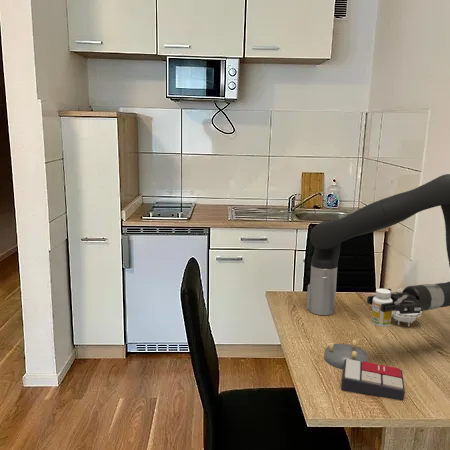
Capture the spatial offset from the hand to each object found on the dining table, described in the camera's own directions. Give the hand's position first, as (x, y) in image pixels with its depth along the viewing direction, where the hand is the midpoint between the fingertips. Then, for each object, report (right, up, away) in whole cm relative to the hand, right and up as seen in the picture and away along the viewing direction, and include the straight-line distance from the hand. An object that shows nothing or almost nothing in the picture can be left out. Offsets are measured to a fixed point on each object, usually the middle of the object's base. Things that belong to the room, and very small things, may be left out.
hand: (374, 304), depth 131 cm
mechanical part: (+19, -12, +32) cm, 39 cm away
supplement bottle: (+2, -6, +2) cm, 7 cm away
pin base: (-7, -17, +5) cm, 19 cm away
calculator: (-3, -20, -8) cm, 22 cm away
